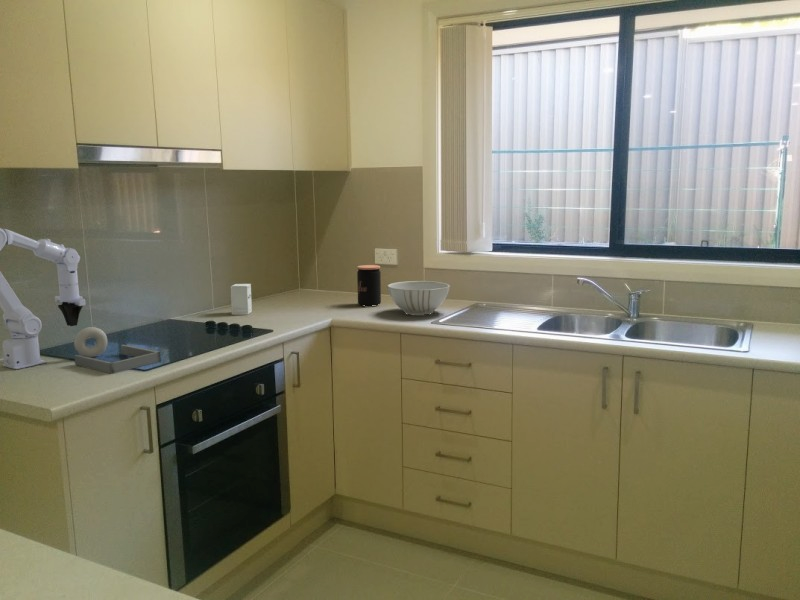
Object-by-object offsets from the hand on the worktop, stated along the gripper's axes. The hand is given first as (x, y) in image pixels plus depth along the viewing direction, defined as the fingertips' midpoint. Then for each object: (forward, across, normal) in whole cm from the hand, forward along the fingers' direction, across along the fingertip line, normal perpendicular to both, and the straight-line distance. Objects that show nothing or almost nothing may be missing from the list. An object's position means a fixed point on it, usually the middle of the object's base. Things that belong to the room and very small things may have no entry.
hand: (72, 325), depth 220 cm
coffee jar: (+10, -29, -126) cm, 130 cm away
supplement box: (+10, +6, -80) cm, 81 cm away
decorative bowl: (+10, -59, -121) cm, 135 cm away
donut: (+10, -10, 0) cm, 14 cm away
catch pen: (+9, -24, 0) cm, 26 cm away
